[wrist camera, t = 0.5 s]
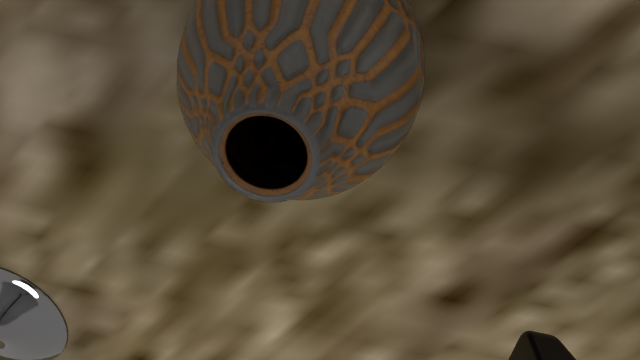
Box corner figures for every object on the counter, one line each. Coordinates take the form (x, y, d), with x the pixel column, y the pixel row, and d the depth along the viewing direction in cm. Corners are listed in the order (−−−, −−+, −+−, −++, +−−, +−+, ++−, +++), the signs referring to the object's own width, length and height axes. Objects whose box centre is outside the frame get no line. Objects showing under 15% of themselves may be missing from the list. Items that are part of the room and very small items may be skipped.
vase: (308, -127, 17) (229, -102, 9) (465, 30, 18) (505, 157, 11) (184, 38, 20) (52, 155, 12) (328, 159, 22) (287, 324, 14)
